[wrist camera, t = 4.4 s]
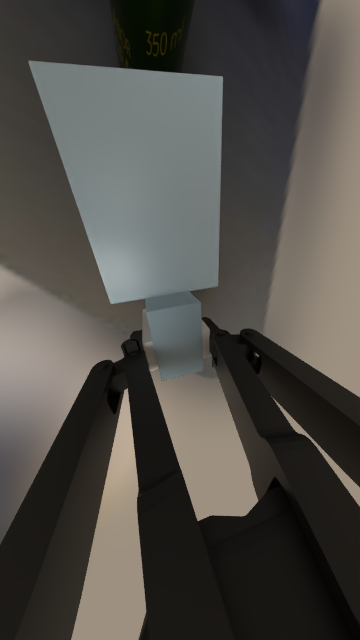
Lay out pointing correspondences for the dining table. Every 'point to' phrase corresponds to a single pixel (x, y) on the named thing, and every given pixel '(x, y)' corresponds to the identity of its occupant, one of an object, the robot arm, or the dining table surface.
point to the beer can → (151, 33)
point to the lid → (145, 188)
